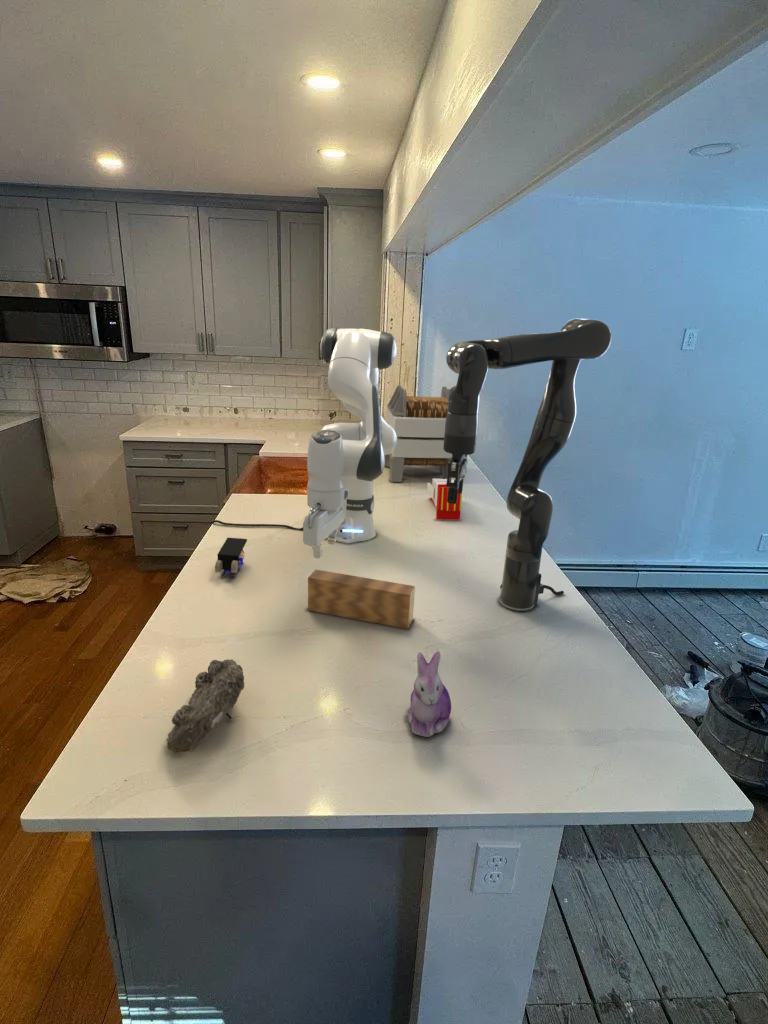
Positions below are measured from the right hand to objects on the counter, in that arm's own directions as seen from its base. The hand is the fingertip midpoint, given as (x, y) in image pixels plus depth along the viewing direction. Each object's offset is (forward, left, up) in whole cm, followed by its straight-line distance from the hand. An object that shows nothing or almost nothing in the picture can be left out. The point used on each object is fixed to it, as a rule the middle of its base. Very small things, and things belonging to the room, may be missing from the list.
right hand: (454, 497), depth 137 cm
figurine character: (+50, -41, -32) cm, 72 cm away
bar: (+21, -6, -32) cm, 39 cm away
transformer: (-48, -126, -32) cm, 138 cm away
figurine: (+21, +36, -32) cm, 53 cm away
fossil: (+60, +23, -32) cm, 72 cm away
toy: (-36, -76, -32) cm, 91 cm away
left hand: (+29, -12, -16) cm, 35 cm away
